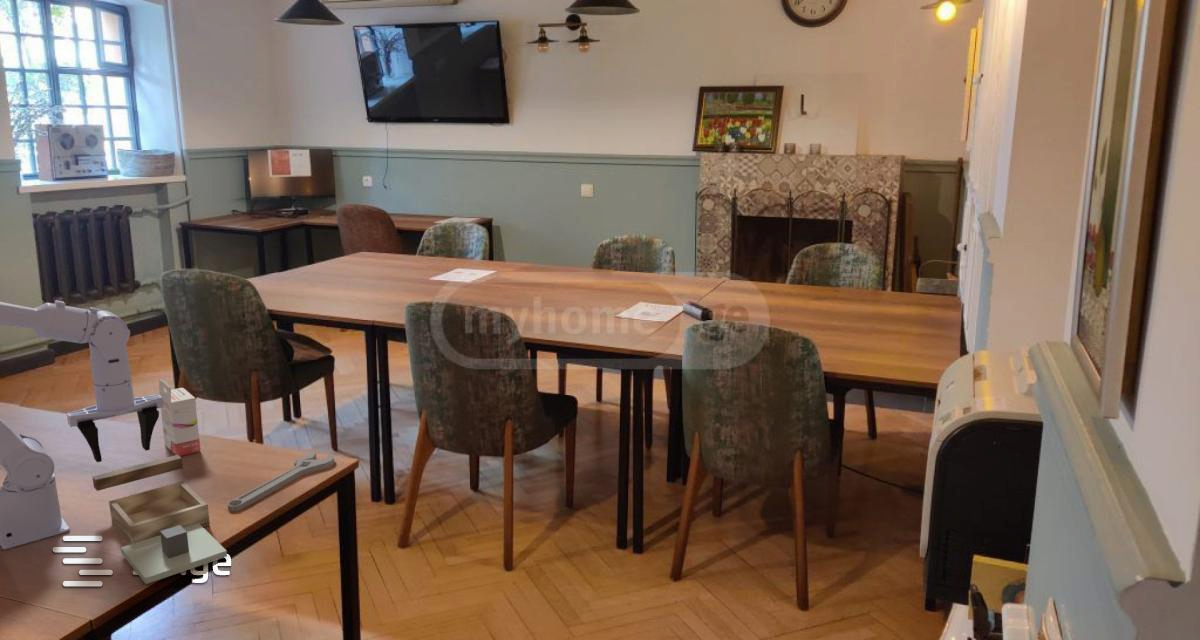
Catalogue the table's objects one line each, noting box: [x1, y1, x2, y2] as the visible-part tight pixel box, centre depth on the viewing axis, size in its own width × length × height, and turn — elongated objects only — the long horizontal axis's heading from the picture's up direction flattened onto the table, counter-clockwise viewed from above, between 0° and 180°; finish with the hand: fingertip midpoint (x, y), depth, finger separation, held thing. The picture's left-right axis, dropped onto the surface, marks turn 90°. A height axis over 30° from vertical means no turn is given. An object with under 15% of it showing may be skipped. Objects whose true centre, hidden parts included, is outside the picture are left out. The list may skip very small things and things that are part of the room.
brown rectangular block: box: [92, 454, 184, 492], centre depth 153 cm, size 14×2×2 cm, turn 133°
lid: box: [120, 523, 228, 585], centre depth 137 cm, size 12×12×6 cm
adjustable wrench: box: [227, 452, 335, 512], centre depth 165 cm, size 25×6×2 cm, turn 151°
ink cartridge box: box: [158, 378, 201, 457], centre depth 177 cm, size 9×5×15 cm, turn 42°
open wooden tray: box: [108, 480, 211, 545], centre depth 148 cm, size 12×12×4 cm
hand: (122, 454), depth 152 cm, fingers open, 7 cm apart
